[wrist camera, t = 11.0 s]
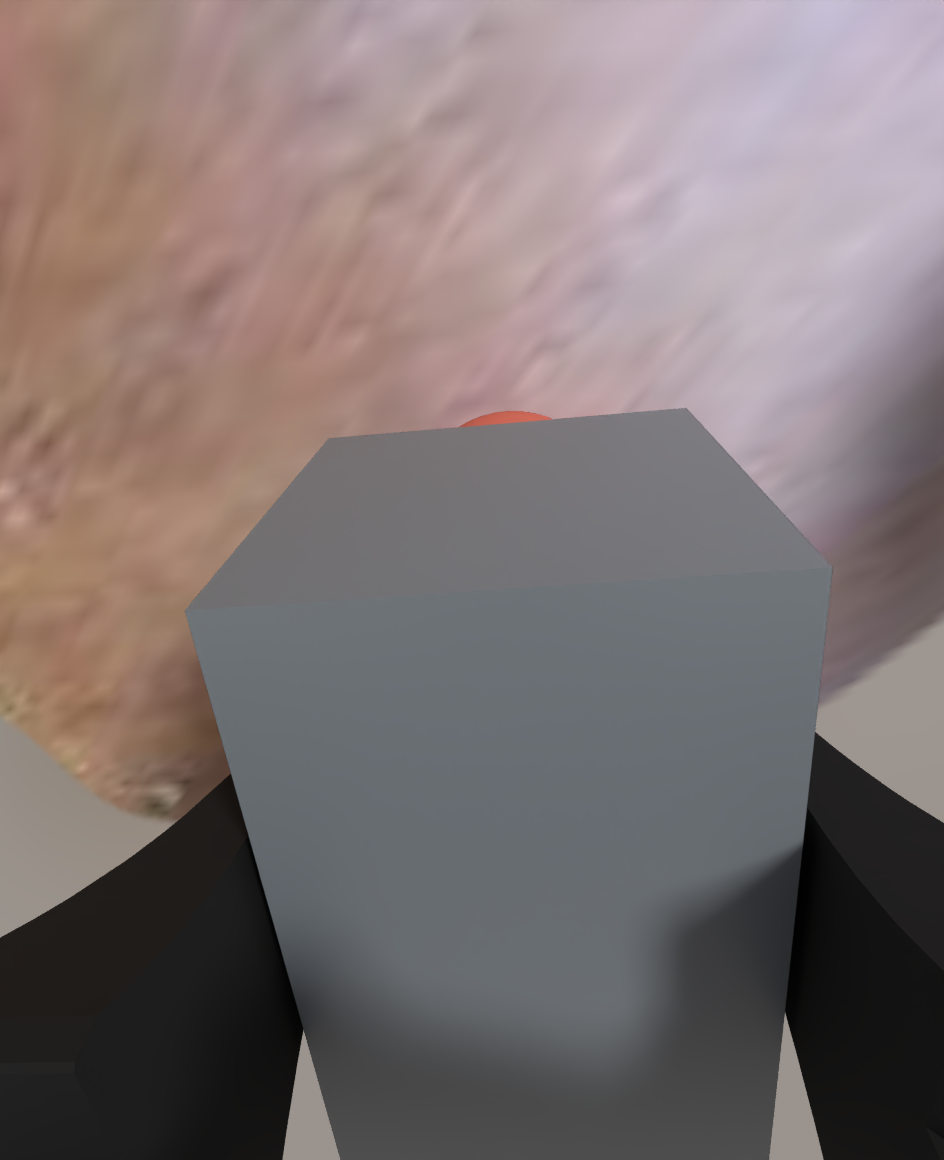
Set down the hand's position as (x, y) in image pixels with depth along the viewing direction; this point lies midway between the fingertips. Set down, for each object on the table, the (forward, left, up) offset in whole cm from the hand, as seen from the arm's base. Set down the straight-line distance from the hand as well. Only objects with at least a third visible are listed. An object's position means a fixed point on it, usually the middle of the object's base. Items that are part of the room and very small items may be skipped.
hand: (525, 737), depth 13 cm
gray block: (0, 0, -2) cm, 2 cm away
